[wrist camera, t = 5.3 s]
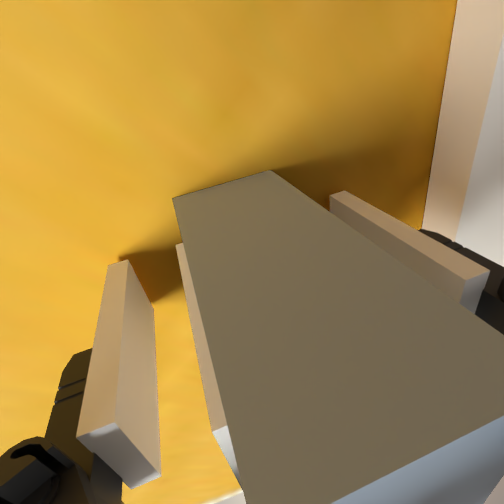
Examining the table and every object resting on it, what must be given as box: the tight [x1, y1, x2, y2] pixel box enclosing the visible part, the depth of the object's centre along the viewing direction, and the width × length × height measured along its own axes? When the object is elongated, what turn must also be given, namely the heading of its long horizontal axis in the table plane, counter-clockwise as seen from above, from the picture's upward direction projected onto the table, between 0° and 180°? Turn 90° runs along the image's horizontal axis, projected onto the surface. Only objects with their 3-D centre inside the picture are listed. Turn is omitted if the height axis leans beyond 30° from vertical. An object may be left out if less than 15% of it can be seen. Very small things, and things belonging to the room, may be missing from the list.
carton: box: [172, 170, 504, 504], centre depth 9 cm, size 6×4×10 cm
